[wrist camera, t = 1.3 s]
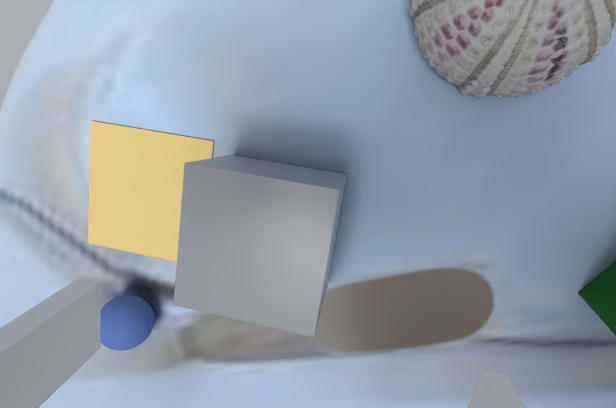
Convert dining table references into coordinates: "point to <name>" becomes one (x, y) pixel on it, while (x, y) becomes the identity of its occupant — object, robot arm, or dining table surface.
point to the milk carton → (603, 296)
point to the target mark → (138, 187)
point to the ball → (125, 322)
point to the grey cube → (257, 240)
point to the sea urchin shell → (510, 41)
